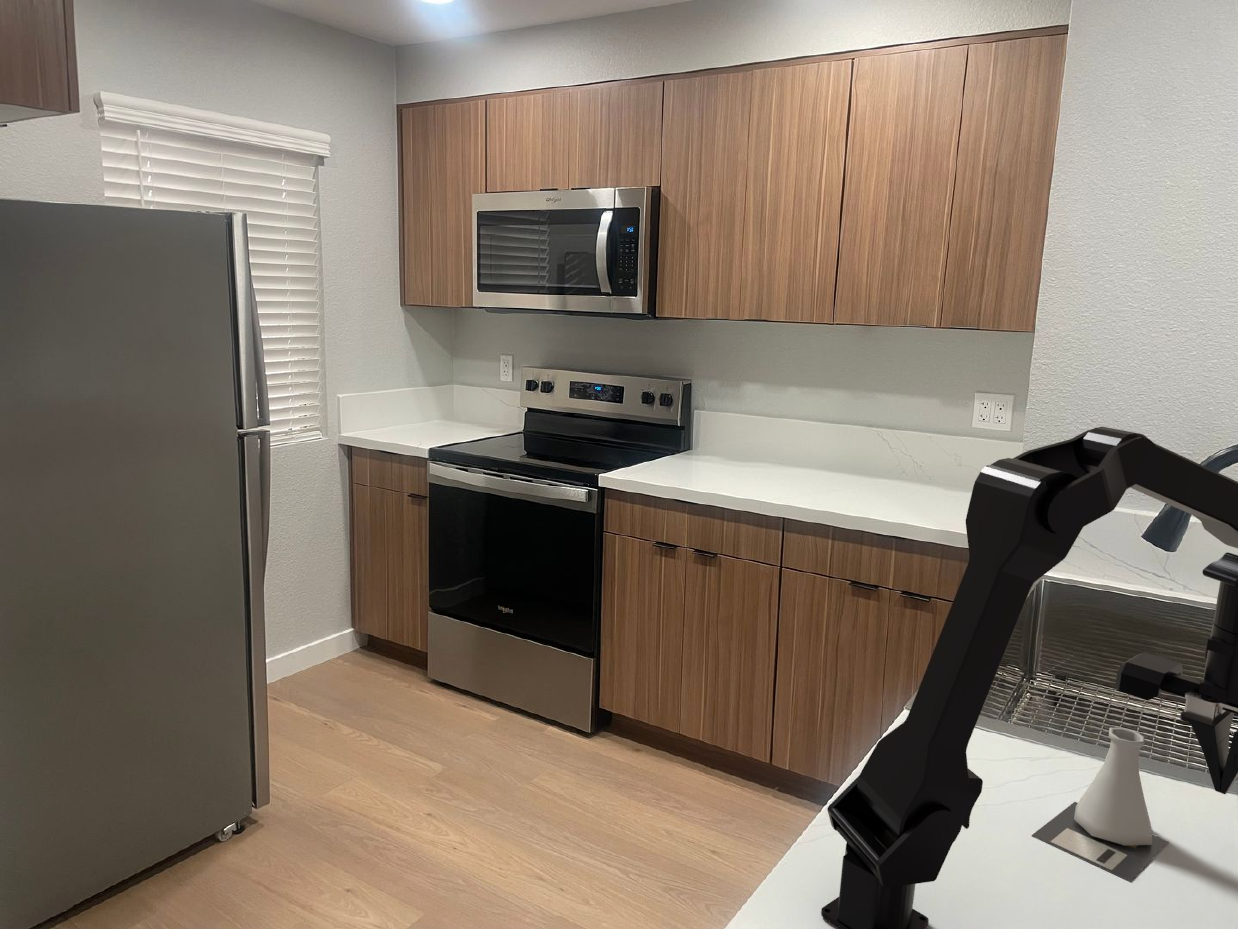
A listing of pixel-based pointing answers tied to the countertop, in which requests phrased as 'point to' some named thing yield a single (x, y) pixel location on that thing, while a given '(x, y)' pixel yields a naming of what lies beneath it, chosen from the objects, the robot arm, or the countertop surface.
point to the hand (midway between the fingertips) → (1221, 791)
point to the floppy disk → (1098, 846)
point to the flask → (1117, 795)
